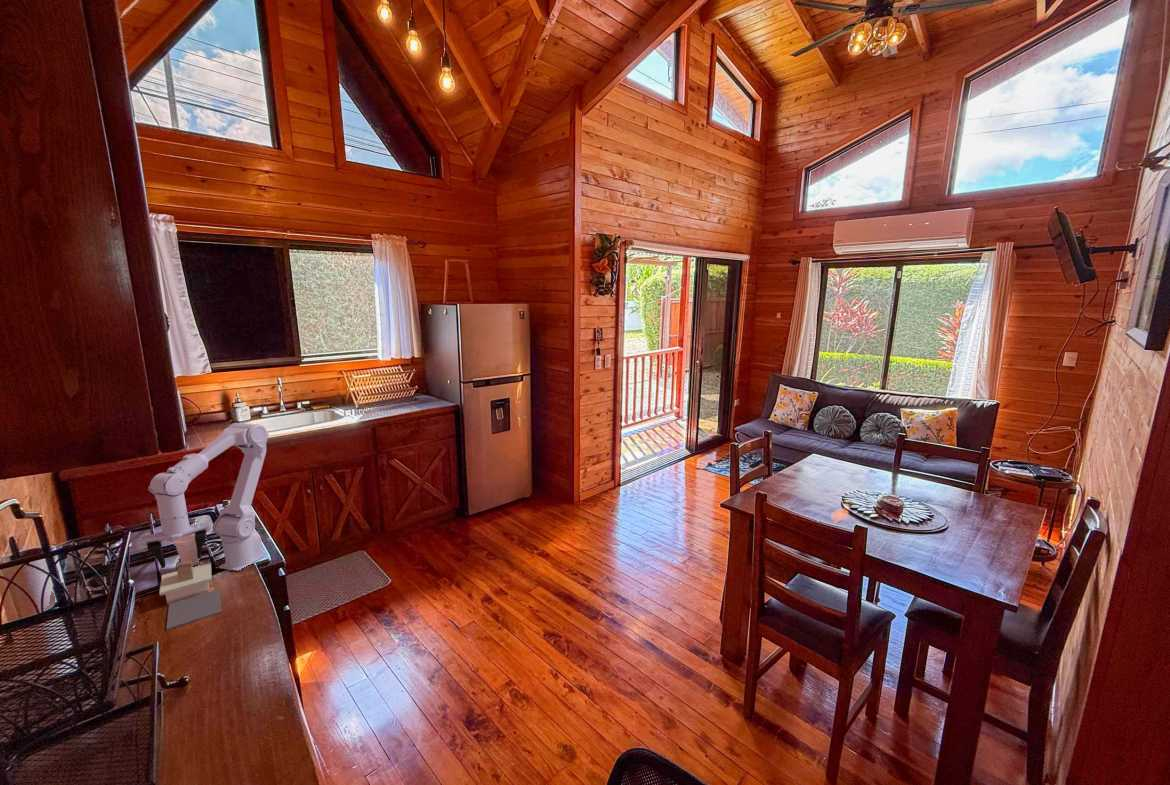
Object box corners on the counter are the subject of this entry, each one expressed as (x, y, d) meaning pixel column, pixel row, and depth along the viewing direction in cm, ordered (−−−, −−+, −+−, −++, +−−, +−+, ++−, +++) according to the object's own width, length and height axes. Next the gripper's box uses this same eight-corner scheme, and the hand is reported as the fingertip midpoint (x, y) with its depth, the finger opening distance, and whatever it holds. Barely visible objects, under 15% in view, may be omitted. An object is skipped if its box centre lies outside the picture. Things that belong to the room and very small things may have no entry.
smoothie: (182, 575, 144) (174, 531, 142) (175, 568, 148) (168, 525, 146) (208, 565, 149) (200, 523, 147) (201, 559, 153) (194, 518, 151)
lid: (162, 577, 137) (159, 563, 136) (211, 564, 143) (208, 551, 143) (159, 595, 128) (157, 581, 127) (211, 580, 135) (209, 566, 134)
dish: (169, 589, 137) (166, 578, 137) (208, 577, 143) (206, 567, 142) (167, 604, 130) (165, 592, 130) (209, 591, 136) (207, 580, 135)
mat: (169, 605, 130) (169, 603, 130) (220, 590, 137) (219, 588, 136) (166, 630, 120) (166, 628, 120) (221, 612, 126) (221, 611, 126)
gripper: (136, 528, 124) (145, 576, 126) (207, 513, 132) (214, 558, 135) (139, 519, 129) (147, 565, 132) (207, 505, 138) (214, 549, 140)
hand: (181, 561), depth 134 cm, fingers open, 7 cm apart
